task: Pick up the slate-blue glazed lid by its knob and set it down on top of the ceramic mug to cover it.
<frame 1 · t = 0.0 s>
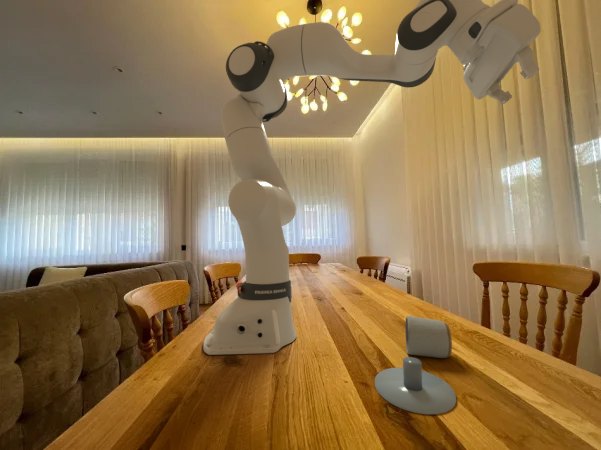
hand: (519, 89, 51), 54 cm above the table, tool tilted 30°, fingers open, 8 cm apart
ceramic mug: (424, 353, 54), on the table
lid: (413, 391, 41), on the table
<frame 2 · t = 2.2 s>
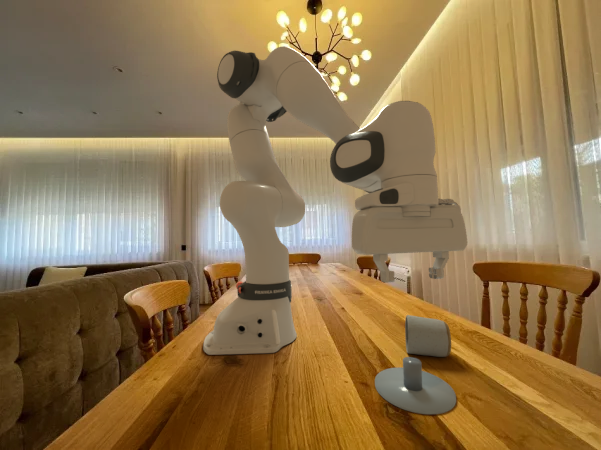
hand: (412, 280, 42), 18 cm above the table, tool pointing down, fingers open, 8 cm apart
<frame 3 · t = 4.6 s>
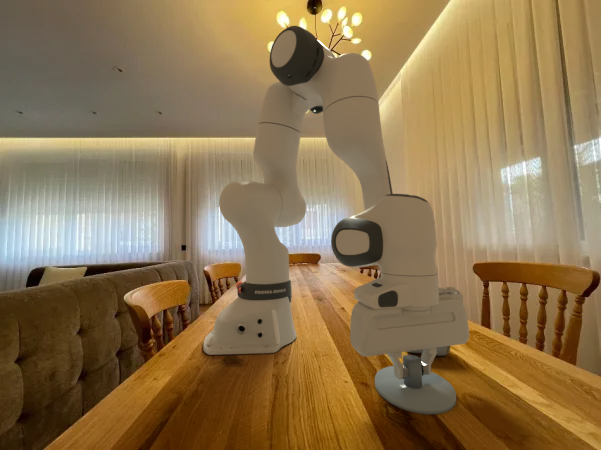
hand: (412, 375, 41), 2 cm above the table, tool pointing down, fingers closed on lid, 3 cm apart
lid: (413, 388, 41), on the table, touching gripper
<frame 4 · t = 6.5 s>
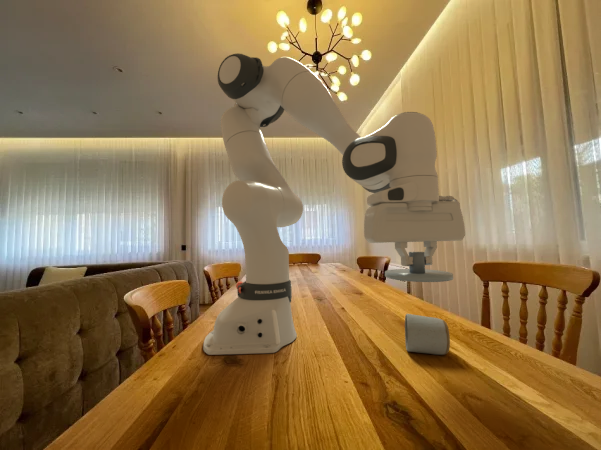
hand: (416, 265, 50), 19 cm above the table, tool pointing down, fingers closed on lid, 3 cm apart
lid: (417, 276, 49), point 17 cm above the table, touching gripper
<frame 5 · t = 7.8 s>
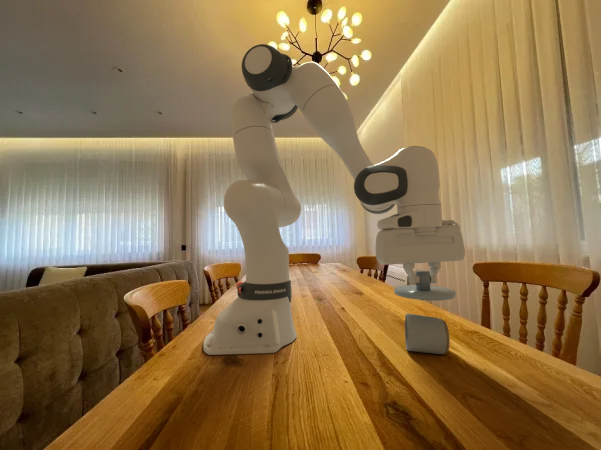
hand: (422, 283, 55), 15 cm above the table, tool pointing down, fingers closed on lid, 3 cm apart
lid: (423, 293, 55), point 12 cm above the table, touching gripper
when the fingers open (11 cm above the table, at t = 8.6 s): lid drops 2 cm, resting on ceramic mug.
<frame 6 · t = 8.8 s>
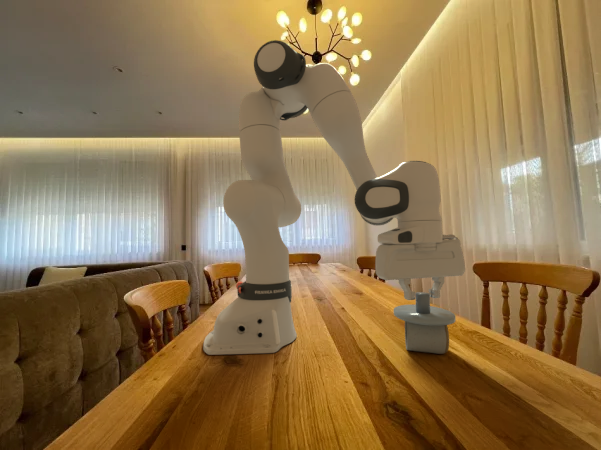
hand: (422, 298, 55), 11 cm above the table, tool pointing down, fingers open, 5 cm apart
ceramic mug: (423, 349, 56), on the table, touching lid
lid: (423, 315, 55), point 8 cm above the table, touching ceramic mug
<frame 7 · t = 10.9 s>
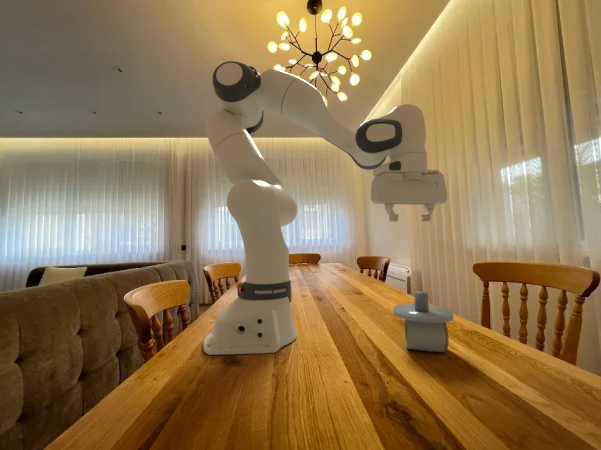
hand: (410, 221, 65), 29 cm above the table, tool pointing down, fingers open, 8 cm apart
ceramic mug: (423, 347, 57), on the table
lid: (421, 314, 56), point 8 cm above the table
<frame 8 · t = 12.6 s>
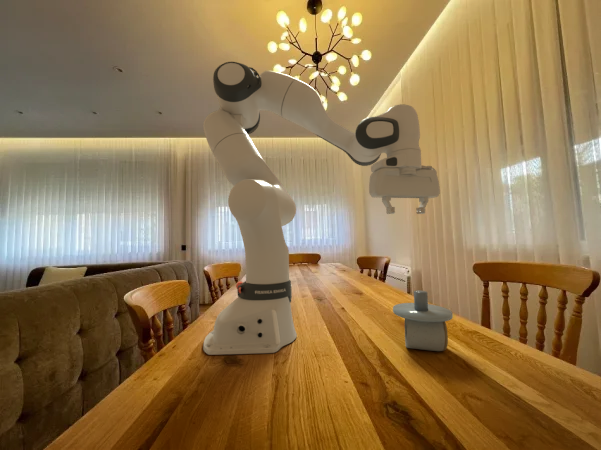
hand: (406, 213, 70), 31 cm above the table, tool pointing down, fingers open, 8 cm apart
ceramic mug: (422, 346, 57), on the table, touching lid
lid: (421, 313, 57), point 8 cm above the table, touching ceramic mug
at the end: lid 1.4 cm from the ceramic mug (horizontally); lid point 7.6 cm above the table; lid tilted 0° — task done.
